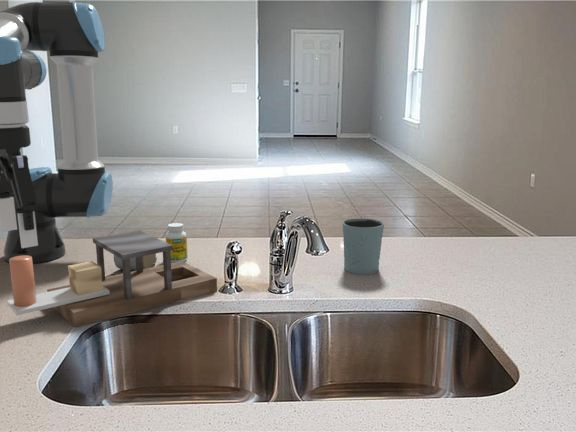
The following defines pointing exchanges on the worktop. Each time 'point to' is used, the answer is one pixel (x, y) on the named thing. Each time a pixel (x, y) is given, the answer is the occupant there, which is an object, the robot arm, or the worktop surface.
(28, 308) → the white plank with peg
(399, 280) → the worktop surface
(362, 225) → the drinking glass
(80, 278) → the maple block
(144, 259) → the ceramic mug
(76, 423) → the worktop surface
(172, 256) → the supplement bottle
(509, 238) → the worktop surface
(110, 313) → the tunnel deck
